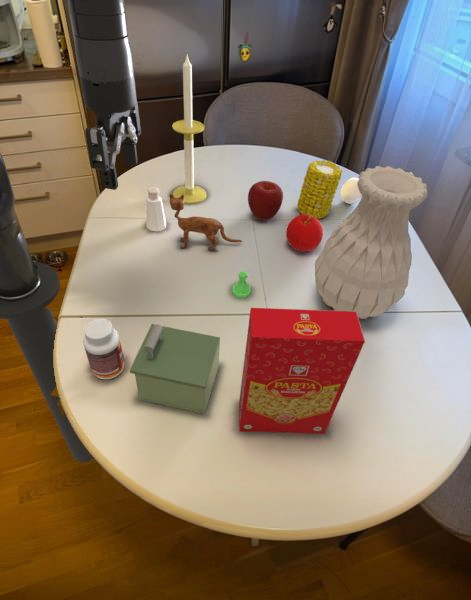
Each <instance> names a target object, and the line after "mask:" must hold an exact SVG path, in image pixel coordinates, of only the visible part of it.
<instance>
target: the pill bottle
mask: <svg viewBox="0 0 471 600" xmlns="http://www.w3.org/2000/svg"><path fill="white" fill-rule="evenodd" d="M83 331H84V337H83V340H82V343H83V348H84V351H85V354H86V358H87V360H88V364H89V367H90V370H91V372H92V373H91V374H93V376H94V377H96V378H98V379H101V380H111V379H113V378H114V379H115V378H116V377H118V376H119V375H120V374H122V372H123V371H124V369H125V365H126V363H125V361H126V360H125V355H124V352H123V347H122V342H121V338H120V333H119V332H118V331H117V330H116V329H115V328H114V327H113V323H112V322H111V321H110V320H109V319H106V318H94V319H92V320H90V321H89V322H87V324H86V325H85V326H84V330H83Z"/></svg>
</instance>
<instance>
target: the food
mask: <svg viewBox="0 0 471 600" xmlns="http://www.w3.org/2000/svg"><path fill="white" fill-rule="evenodd" d="M342 174H343V170H342V168H341V167H340V166H339V165H337V164H336V163H335V162H334V163H333V162H332V161H331V160H326V159H323V160H319V159H317V160H315V161H311V162H310V163H309V164H308V167H307V170H306V173H305V176H304V179H303V183H302V186H301V189H300V193H299V198H298V199H297V205H296V206H297V207H296V210H297V211H298V212H299V214H305V215H310V216H313V217H315V218H317V219H318V220H320V219H324V218H326V217H327V216H328V215H329V212H330V210H331V207H332V203H333V201H334V199H335V197H336V193H337V189H338V186H339V184H340V181H341V178H342Z"/></svg>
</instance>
